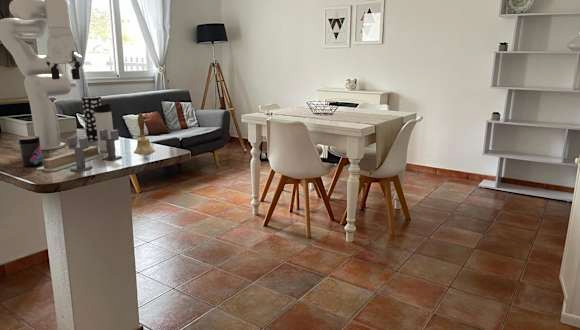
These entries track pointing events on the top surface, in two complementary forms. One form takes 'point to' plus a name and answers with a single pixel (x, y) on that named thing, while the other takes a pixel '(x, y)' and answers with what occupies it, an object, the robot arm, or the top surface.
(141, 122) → the hand bell
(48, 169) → the mat
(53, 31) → the robot arm
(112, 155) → the rack
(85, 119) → the white-spotted black cylinder
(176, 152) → the top surface
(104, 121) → the travel mug
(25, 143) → the supplement container
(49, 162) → the rail
